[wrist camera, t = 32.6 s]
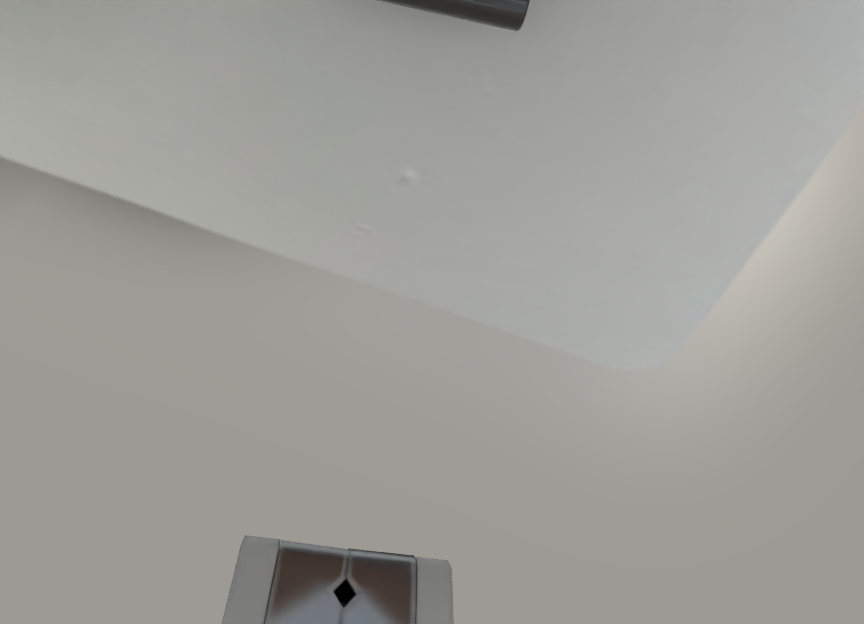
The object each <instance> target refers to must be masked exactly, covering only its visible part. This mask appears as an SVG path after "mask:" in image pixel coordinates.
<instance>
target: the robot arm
mask: <svg viewBox="0 0 864 624" xmlns="http://www.w3.org/2000/svg"><path fill="white" fill-rule="evenodd" d="M222 624H454V623H453V588H452V568H451V566H450V563H449V562H448V560H438V559H430V558H421V557H414V556H412V555H403V554H394V553H384V552H375V551H366V550H356V549H341V548H334V547H327V546H320V545H312V544H305V543H297V542H290V541H281V543H280V540H279V539H271V538H263V537H254V536H245V537H244V539H243V542H242V544H241V547H240V550H239V554H238V559H237V563H236V567H235V571H234V575H233V579H232V583H231V587H230V591H229V595H228V599H227V604H226V608H225V613H224V616H223V621H222Z"/></svg>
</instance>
